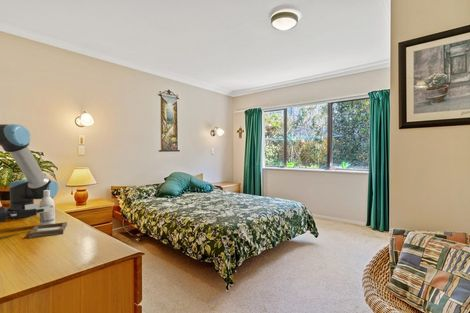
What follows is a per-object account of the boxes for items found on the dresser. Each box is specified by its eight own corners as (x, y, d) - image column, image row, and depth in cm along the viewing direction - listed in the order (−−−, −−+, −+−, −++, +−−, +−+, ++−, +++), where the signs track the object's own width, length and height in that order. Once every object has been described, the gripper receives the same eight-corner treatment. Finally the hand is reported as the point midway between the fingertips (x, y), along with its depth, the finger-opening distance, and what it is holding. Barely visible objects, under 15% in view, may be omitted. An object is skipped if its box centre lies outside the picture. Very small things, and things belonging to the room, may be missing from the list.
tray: (35, 229, 134) (35, 225, 134) (67, 226, 140) (66, 222, 140) (28, 238, 121) (28, 233, 121) (63, 233, 128) (63, 229, 128)
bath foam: (43, 224, 144) (41, 189, 143) (57, 222, 146) (56, 189, 145) (37, 227, 137) (36, 191, 137) (52, 226, 140) (51, 191, 139)
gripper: (-15, 219, 128) (34, 210, 146) (3, 227, 115) (55, 216, 133) (-16, 205, 128) (34, 197, 146) (2, 211, 115) (54, 202, 133)
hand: (44, 206), depth 140 cm, fingers open, 13 cm apart
